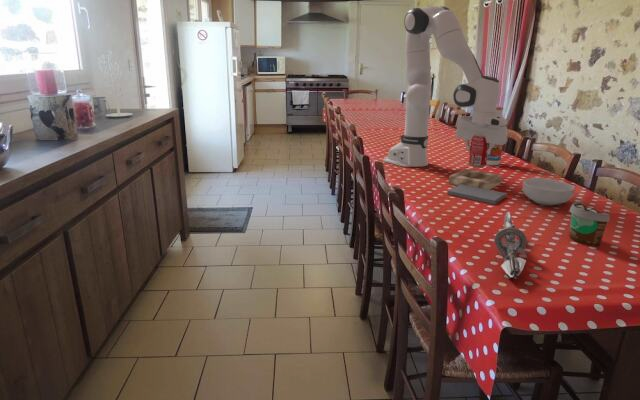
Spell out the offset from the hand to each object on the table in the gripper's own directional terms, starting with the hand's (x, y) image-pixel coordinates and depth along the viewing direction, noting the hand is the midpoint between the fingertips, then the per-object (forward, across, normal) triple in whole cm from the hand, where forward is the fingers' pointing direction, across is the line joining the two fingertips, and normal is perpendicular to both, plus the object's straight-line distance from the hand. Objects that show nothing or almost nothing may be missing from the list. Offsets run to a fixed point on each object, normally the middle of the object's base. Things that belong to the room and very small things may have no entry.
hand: (477, 152), depth 177 cm
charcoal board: (+13, +8, -16) cm, 22 cm away
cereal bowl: (+13, +30, -6) cm, 33 cm away
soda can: (+6, 0, 0) cm, 6 cm away
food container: (+12, +47, -37) cm, 61 cm away
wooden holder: (+13, +1, 0) cm, 13 cm away
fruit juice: (+13, -8, +41) cm, 44 cm away
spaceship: (+13, +35, -61) cm, 71 cm away
